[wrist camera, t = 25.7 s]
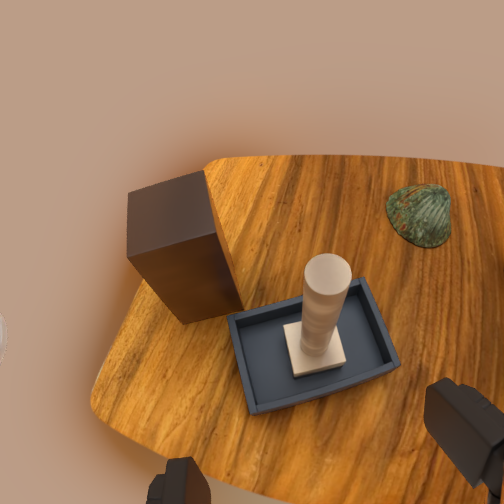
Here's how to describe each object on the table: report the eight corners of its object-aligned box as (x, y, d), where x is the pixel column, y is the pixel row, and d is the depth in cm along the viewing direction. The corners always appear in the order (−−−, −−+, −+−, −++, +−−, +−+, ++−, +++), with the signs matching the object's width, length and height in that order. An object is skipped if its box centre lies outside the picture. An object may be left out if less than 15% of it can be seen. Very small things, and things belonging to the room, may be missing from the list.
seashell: (379, 180, 36) (431, 161, 38) (372, 200, 40) (423, 180, 41) (427, 244, 32) (476, 216, 33) (414, 261, 35) (463, 233, 36)
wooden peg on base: (293, 379, 29) (294, 324, 15) (283, 334, 31) (275, 246, 18) (341, 368, 29) (383, 302, 15) (329, 324, 31) (354, 229, 18)
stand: (182, 324, 34) (126, 257, 22) (175, 271, 38) (127, 192, 26) (244, 309, 34) (216, 231, 22) (231, 256, 38) (203, 169, 26)
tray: (253, 416, 28) (249, 414, 25) (231, 326, 33) (226, 315, 31) (392, 371, 28) (401, 364, 26) (359, 289, 34) (364, 276, 31)
